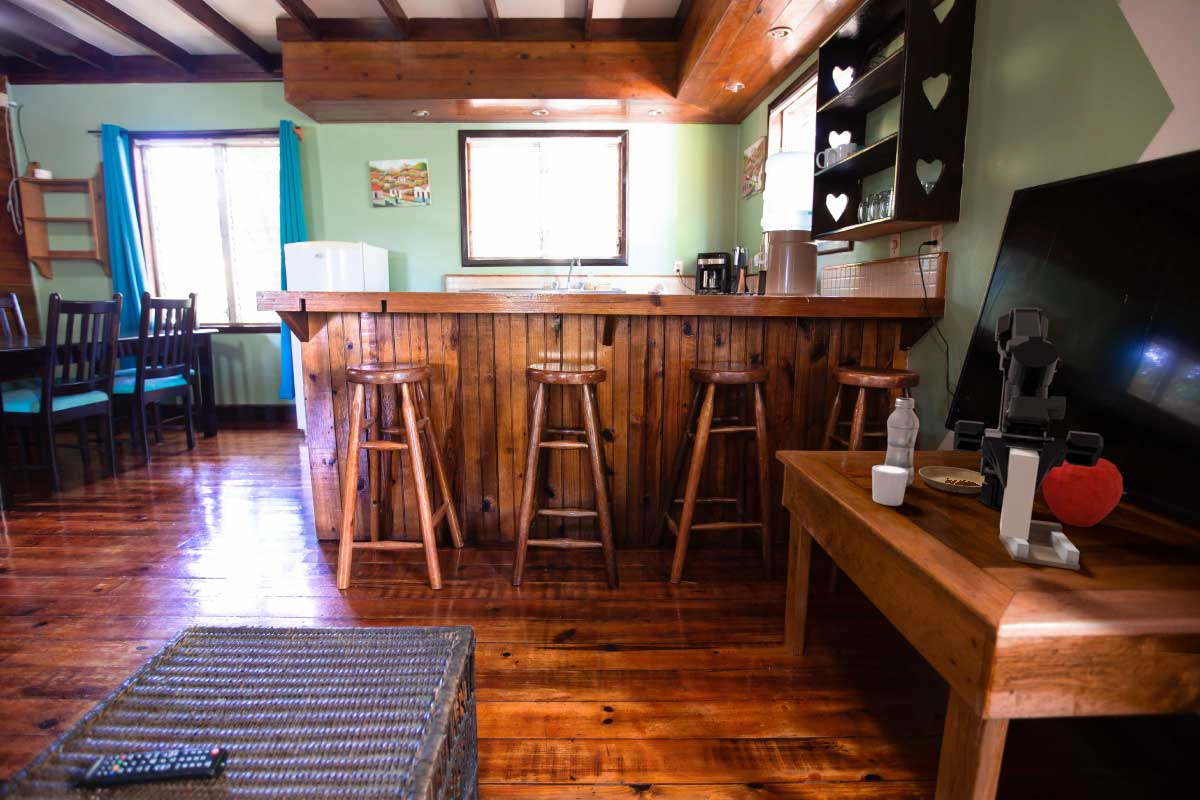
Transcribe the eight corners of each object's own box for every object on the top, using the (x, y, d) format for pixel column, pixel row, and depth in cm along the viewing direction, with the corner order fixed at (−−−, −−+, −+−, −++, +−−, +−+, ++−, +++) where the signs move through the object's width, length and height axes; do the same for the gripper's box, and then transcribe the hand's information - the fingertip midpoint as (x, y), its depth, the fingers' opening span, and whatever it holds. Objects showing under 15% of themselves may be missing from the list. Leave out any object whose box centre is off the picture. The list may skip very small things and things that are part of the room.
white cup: (862, 497, 123) (864, 466, 122) (886, 493, 125) (889, 463, 124) (888, 508, 117) (891, 475, 115) (913, 504, 119) (916, 471, 118)
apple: (1095, 515, 113) (1105, 449, 111) (1132, 538, 102) (1144, 466, 100) (1026, 509, 116) (1034, 445, 114) (1054, 531, 105) (1064, 461, 103)
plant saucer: (1006, 499, 123) (1008, 487, 122) (932, 495, 125) (933, 484, 125) (974, 478, 137) (975, 467, 137) (908, 475, 139) (909, 465, 139)
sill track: (999, 537, 102) (1001, 516, 102) (1058, 545, 99) (1061, 523, 98) (1013, 560, 93) (1016, 537, 93) (1079, 570, 90) (1082, 546, 89)
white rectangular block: (999, 525, 92) (1009, 447, 90) (1026, 530, 91) (1036, 450, 88) (1000, 535, 89) (1011, 454, 87) (1027, 540, 87) (1039, 457, 85)
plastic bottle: (902, 480, 135) (910, 396, 131) (919, 489, 128) (928, 401, 125) (875, 480, 135) (883, 396, 131) (891, 490, 128) (899, 401, 124)
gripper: (961, 371, 94) (950, 452, 87) (1111, 380, 84) (1113, 472, 77) (957, 411, 102) (948, 487, 94) (1094, 423, 92) (1095, 510, 84)
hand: (1020, 488), depth 87 cm, fingers closed on white rectangular block, 3 cm apart
